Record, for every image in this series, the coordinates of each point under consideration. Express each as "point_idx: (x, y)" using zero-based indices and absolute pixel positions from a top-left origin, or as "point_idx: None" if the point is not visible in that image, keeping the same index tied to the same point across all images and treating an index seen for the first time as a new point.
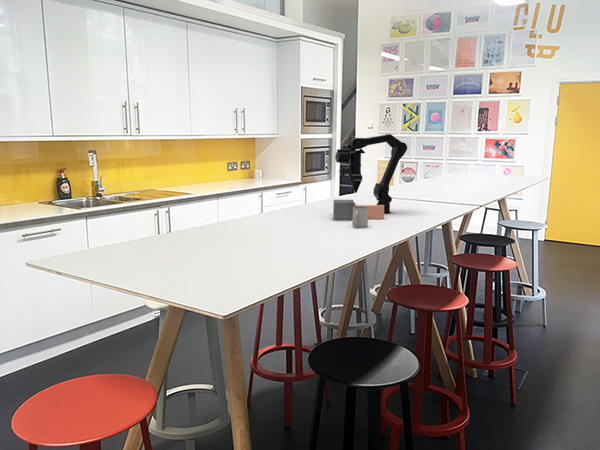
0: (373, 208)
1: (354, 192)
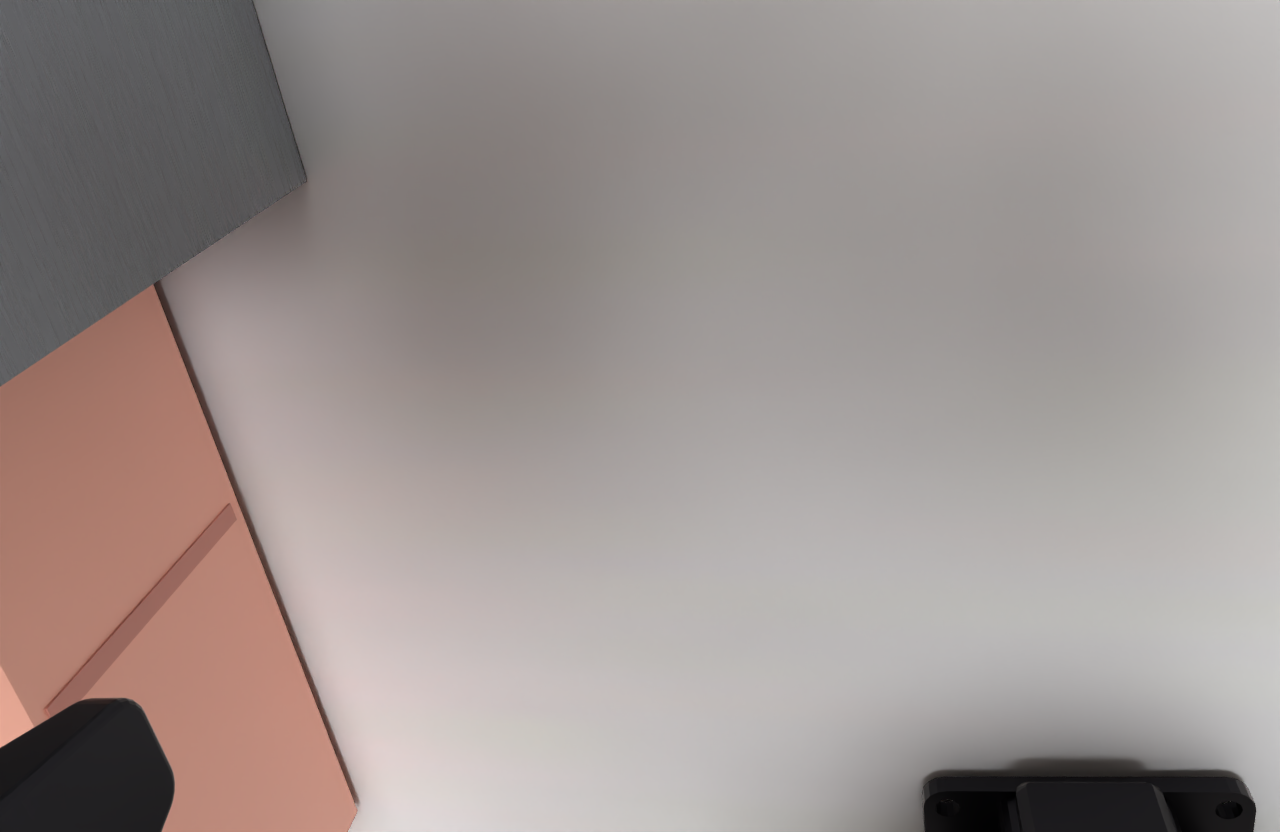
0: None
1: (63, 711)
